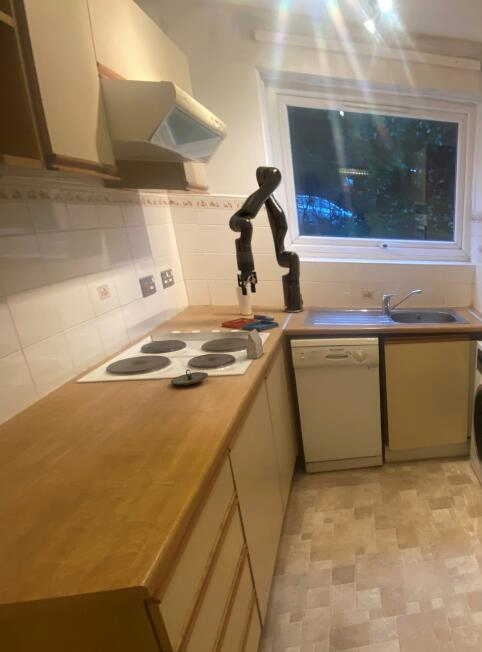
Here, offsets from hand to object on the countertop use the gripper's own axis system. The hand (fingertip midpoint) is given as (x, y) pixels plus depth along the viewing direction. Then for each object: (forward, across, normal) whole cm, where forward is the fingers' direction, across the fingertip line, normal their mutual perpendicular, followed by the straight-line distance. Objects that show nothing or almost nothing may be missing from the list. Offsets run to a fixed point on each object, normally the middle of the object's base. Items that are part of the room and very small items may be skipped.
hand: (249, 293), depth 217 cm
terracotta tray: (+14, -9, +2) cm, 17 cm away
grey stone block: (+14, -56, -29) cm, 64 cm away
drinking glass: (+14, +15, +11) cm, 23 cm away
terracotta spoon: (+14, -9, +2) cm, 16 cm away
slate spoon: (+14, +5, -3) cm, 15 cm away
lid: (+14, -87, -24) cm, 92 cm away
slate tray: (+14, -12, -10) cm, 21 cm away
